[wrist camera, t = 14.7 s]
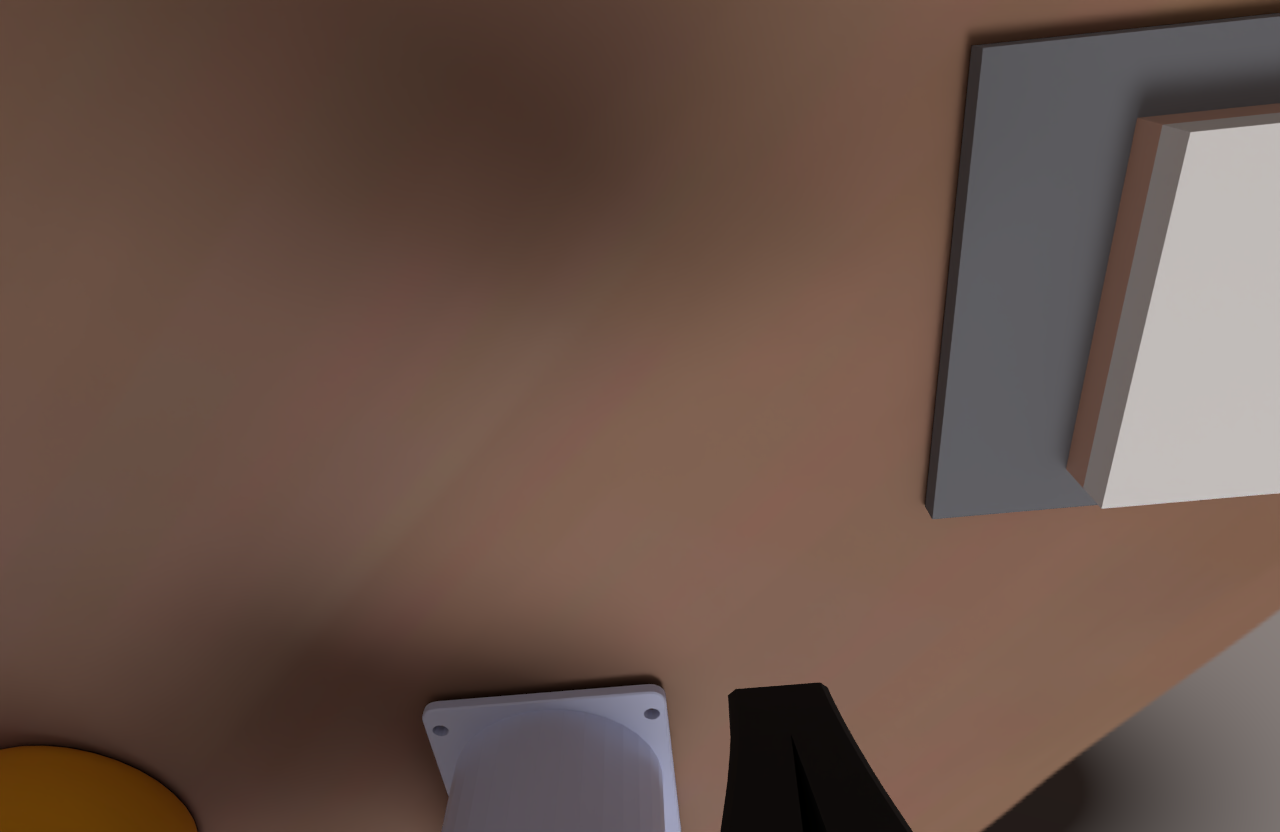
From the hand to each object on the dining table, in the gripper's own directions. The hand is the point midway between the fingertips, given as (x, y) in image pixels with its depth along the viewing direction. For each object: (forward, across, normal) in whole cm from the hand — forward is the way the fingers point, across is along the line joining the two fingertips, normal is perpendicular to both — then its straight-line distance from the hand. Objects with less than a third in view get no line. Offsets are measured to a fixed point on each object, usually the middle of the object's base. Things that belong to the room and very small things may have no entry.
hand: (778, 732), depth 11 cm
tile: (+9, -9, -2) cm, 13 cm away
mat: (+10, -11, -2) cm, 15 cm away
